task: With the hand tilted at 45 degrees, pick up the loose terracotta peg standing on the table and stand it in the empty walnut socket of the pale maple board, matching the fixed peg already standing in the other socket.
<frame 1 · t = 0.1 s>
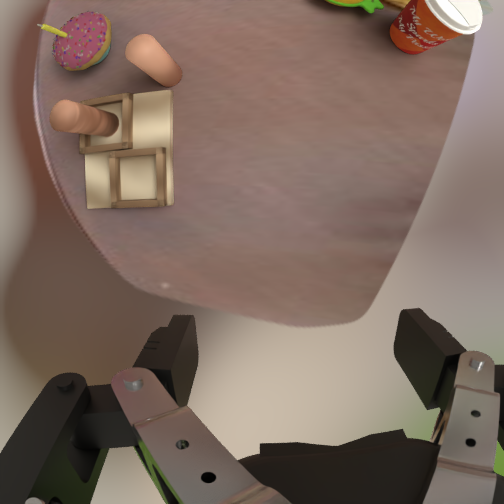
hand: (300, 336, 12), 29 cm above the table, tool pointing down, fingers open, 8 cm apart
peg: (169, 75, 35), on the table
cupcake: (97, 49, 34), on the table
board: (128, 150, 38), on the table
paper cup: (407, 37, 33), on the table
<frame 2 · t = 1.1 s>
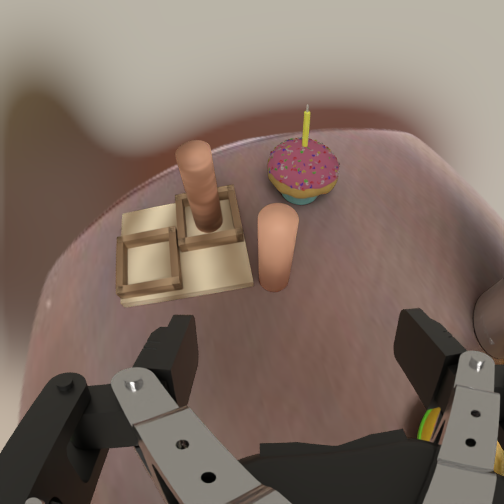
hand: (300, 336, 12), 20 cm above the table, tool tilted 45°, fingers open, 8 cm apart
peg: (273, 278, 35), on the table
cupcake: (300, 191, 41), on the table
board: (182, 249, 37), on the table
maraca: (432, 444, 25), on the table
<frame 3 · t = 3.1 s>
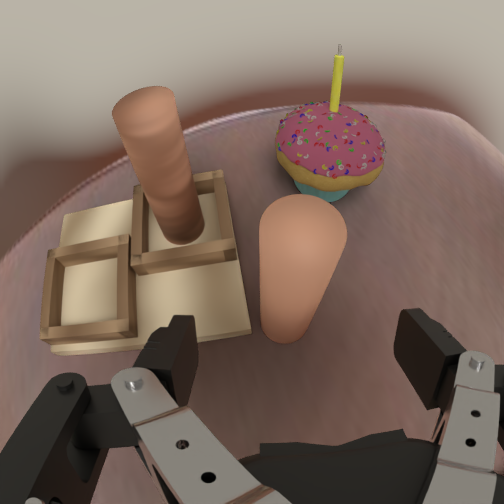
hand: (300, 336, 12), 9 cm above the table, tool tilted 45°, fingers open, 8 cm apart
peg: (284, 320, 21), on the table
cupcake: (323, 183, 27), on the table
board: (142, 270, 23), on the table
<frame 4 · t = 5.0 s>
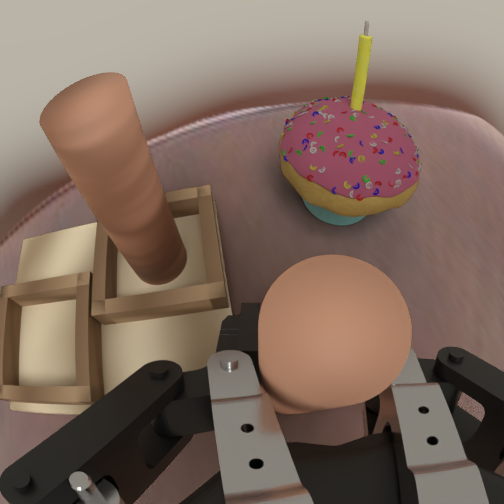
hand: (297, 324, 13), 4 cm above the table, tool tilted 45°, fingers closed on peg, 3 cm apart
peg: (289, 384, 16), on the table, touching gripper
cupcake: (337, 200, 22), on the table
board: (111, 313, 18), on the table
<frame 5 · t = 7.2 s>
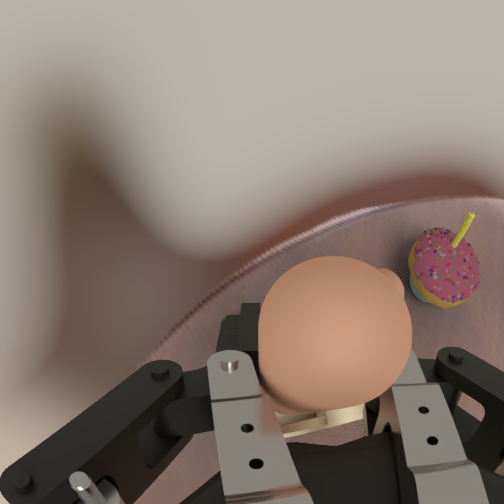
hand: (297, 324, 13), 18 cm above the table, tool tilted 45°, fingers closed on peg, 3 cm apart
peg: (289, 385, 16), point 14 cm above the table, touching gripper
cupcake: (427, 285, 33), on the table
board: (311, 368, 29), on the table
when the fingers open (7 cm above the table, at t = 9.6 s): peg drops 1 cm, resting on board.
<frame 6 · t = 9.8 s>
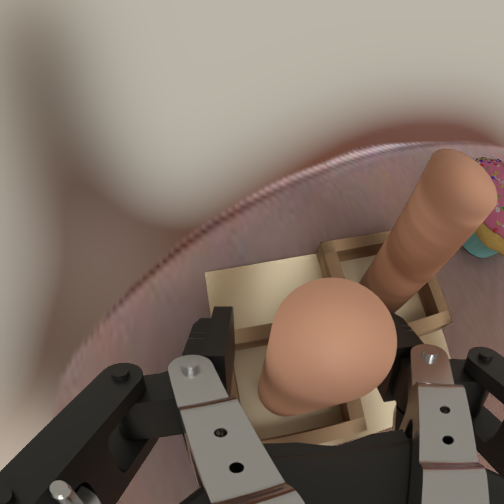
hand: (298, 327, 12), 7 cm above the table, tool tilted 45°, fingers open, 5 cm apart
peg: (286, 389, 17), point 1 cm above the table, touching board
cupcake: (475, 236, 23), on the table
board: (335, 345, 19), on the table
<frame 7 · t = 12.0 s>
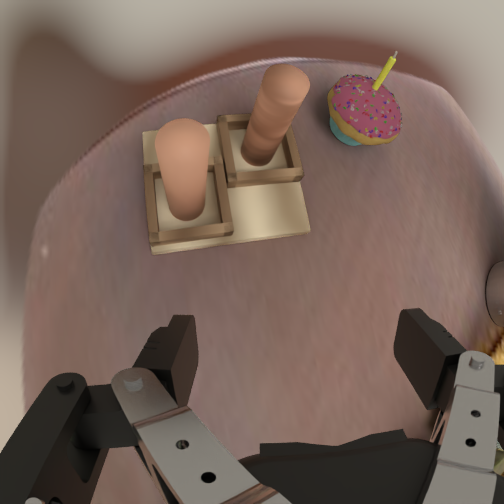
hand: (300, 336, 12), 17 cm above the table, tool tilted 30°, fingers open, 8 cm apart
peg: (186, 203, 28), point 1 cm above the table, touching board
coffee can: (471, 474, 29), on the table
cupcake: (348, 130, 35), on the table
board: (222, 182, 30), on the table
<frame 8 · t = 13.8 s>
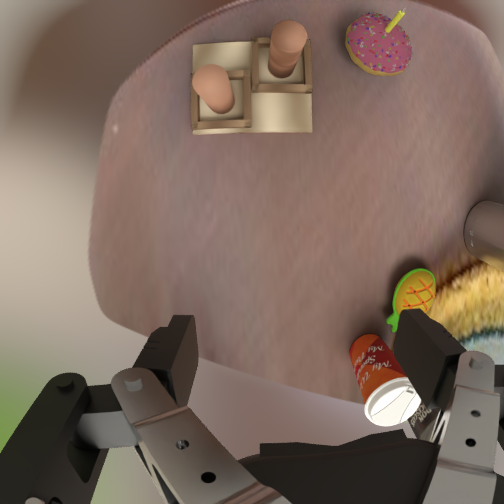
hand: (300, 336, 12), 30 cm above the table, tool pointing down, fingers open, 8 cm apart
peg: (221, 101, 36), point 1 cm above the table, touching board
coffee can: (416, 375, 48), on the table
cupcake: (367, 54, 35), on the table
board: (251, 86, 37), on the table
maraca: (404, 294, 44), on the table
paper cup: (365, 348, 46), on the table
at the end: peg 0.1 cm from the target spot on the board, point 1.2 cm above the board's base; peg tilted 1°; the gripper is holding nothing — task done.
